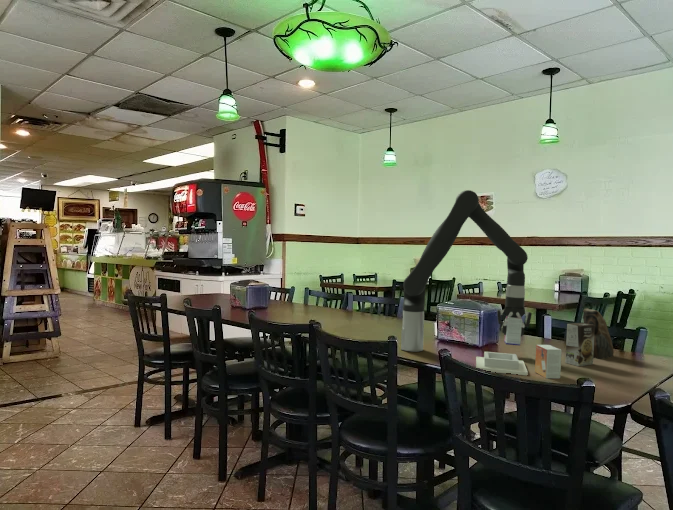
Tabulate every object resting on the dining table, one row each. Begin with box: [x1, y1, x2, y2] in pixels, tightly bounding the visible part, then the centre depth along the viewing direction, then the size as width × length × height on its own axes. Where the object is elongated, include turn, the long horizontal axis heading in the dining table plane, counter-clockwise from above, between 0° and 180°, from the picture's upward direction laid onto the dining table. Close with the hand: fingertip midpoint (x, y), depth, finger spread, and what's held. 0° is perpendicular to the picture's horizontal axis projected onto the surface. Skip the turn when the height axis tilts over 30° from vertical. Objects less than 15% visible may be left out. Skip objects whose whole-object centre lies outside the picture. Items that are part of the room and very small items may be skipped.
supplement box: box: [504, 317, 523, 347], centre depth 205 cm, size 6×6×12 cm
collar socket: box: [475, 351, 529, 376], centre depth 186 cm, size 18×18×4 cm
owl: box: [582, 307, 614, 360], centre depth 211 cm, size 13×13×20 cm
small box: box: [534, 344, 563, 379], centre depth 176 cm, size 8×6×10 cm
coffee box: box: [565, 322, 595, 367], centre depth 195 cm, size 9×6×16 cm
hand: (512, 335), depth 205 cm, fingers closed on supplement box, 6 cm apart
